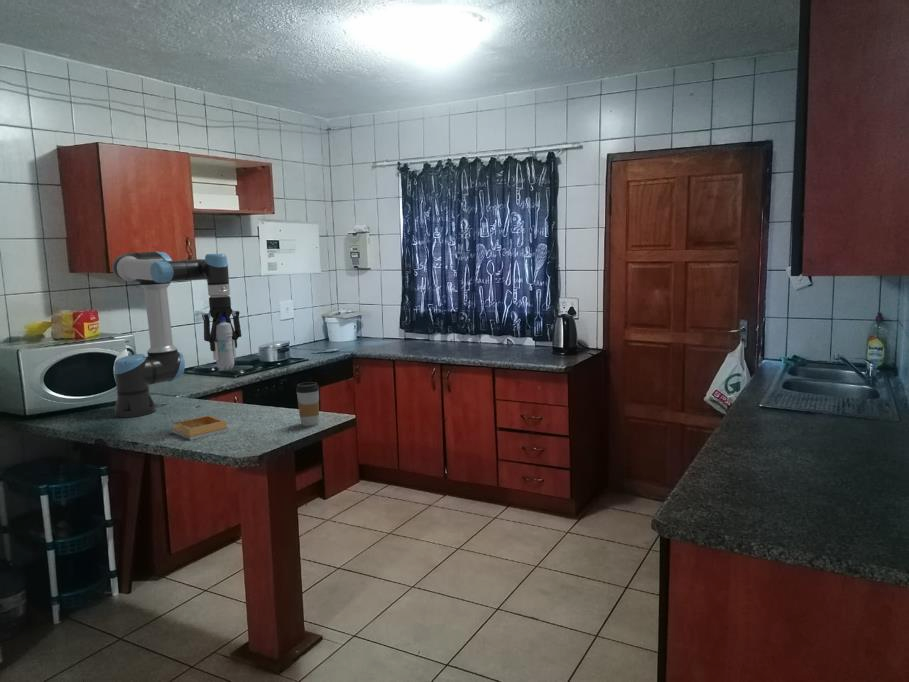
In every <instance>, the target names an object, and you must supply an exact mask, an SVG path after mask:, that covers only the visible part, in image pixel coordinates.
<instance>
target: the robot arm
mask: <svg viewBox="0 0 909 682" xmlns="http://www.w3.org/2000/svg"><path fill="white" fill-rule="evenodd" d="M111 268H112V273H113V275H114V276H115V277H116V278H117V279H119V280H121V281H123V282H130V283H131V282H132V283H135V282H137V283H138V282H139V283H138V284H139V287H140V288H142V289H143V292H144V297H145V307H146V317H147V325H148V334H149V335H148V336H149V343H150V348H149V349H148V350H147V353H146V354H147V356H146V355H145V354H144V353H136V354H135V353H134V354H130V355H127V356H126V355H125V356H122V357H120V358H118V359H117V360H115V362H114V371H113V372H114V376H115V384H116V394H117V398H116V401H115V406H114V409H113V410H114V417H117V418H135V417H142V416H145V415H146V416H147V415H149V414H153V413H154V412H156V411H157V408H156V403H155V402H154V400H153V397H152V395H151V393H150V388H149V385H155V384H161V383H165V382H173V381H176V380H178V379H180V378H181V377H182V376H183V375H184V372H185V370H186V369H185V367H186V361H185V358H184V355H183V354H182V352H180V351H178V348H177V347H176V346H175V345H174V343H173V333H172V324H171V323H172V322H171V316H170V304H169V297H168V296H169V295H168V287H169V286H171V283H175V282H187V281H199V280H200V281H202V280H204V281H205V280H206V282H207V295H208V296H209V297H208V304H209V305H208V306H209V311H208V312H207V313H203V314H201V318H202V320H203V340H204V342H209V349H210V351H211V352H212V357H213V360H215V361H216V360H219V356H218V345H217V342H215V339H216V327H217V325H218V324H219V323H220V318H221V316H225V317H226V322H228V323H230V324H231V328H232V347H233V356H234V358H237V354H236V352H237V351H236V349H237V348H238V339H239V338H241V337H242V330H241V324H240V311H239V310H233V308H232V301H231V299H232V298H231V296H230V295H231V289H230V277H229V274H230V273H229V263H228V257H227V255H226V253H207V254H205V255H204V259H202V258H197V259H184V260H173V259H172V258H171V257H170V255H169V254H168V253H166V252H164V251H146V252H145V251H142V252H141V251H140V252H126V253H123V254H120V255H118V256H117V257H116V258H115V259H114V260H113V262H112V265H111ZM231 315H232V320H233V324H232V320H231ZM211 319H212V322H211V321H210V320H211ZM210 323H211V324H210Z"/></svg>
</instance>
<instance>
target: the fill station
mask: <svg viewBox="0 0 909 682" xmlns="http://www.w3.org/2000/svg"><path fill="white" fill-rule="evenodd" d="M229 430H230V429H229V427H227V421H226V420H224V419H221V418H218V417H216V416H213V415H204V416H199V417H195V418H191V419H185V420H181V421H176V422H173V429H172V433H173V434H175V435H177V436H180V437H182V438H184V439H186V438H187V439H186V440H188V439H189V441H193V439H195V440H197V439H198V438H199V439H201V438H202V437H203V438H206V436H207V437H212V436H215V434H216V435H219V434H220V435H221V434H223V433H228V432H229Z"/></svg>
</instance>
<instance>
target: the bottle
mask: <svg viewBox="0 0 909 682" xmlns="http://www.w3.org/2000/svg"><path fill="white" fill-rule="evenodd" d="M215 342H217V345H218V356H219V360H215V361H216V367H217V369H218V370H224V369H226V370H229V369H234V366H235V357H234V356H233V347H232V328H231V324H230V323H228V322H226V317H225V316H221V318H220V323H219V324H218V325H217V327H216V339H215Z"/></svg>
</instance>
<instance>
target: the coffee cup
mask: <svg viewBox="0 0 909 682" xmlns="http://www.w3.org/2000/svg"><path fill="white" fill-rule="evenodd" d="M319 387H320V386H319V384H318V382H314V381H313V382H312V381H308V382H301V383H298V384H297V385H296V388H295V391H296V395H297V396H296V397H297V406H298V414H299V418H300V423H301V425H302V426H303V427H313V426H317V425H318V424H319V422H320V421H319V420H320V416H319V415H320V394H319V393H320V392H319V391H320V388H319Z"/></svg>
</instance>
